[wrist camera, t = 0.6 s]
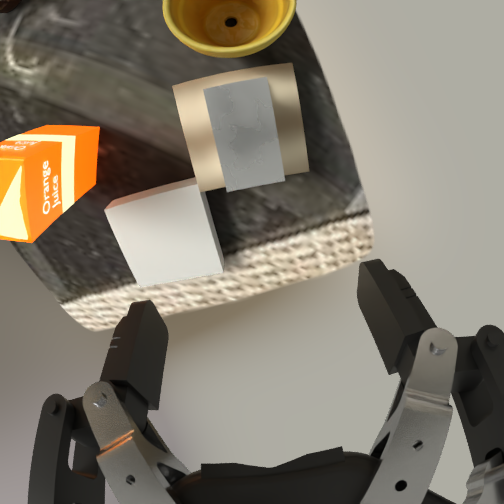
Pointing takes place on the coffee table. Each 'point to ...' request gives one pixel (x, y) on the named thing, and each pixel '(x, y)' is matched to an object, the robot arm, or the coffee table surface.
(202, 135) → the stand
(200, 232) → the stand
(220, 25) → the plant pot
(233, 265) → the coffee table surface
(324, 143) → the coffee table surface
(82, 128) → the orange juice
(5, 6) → the coffee mug
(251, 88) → the block
